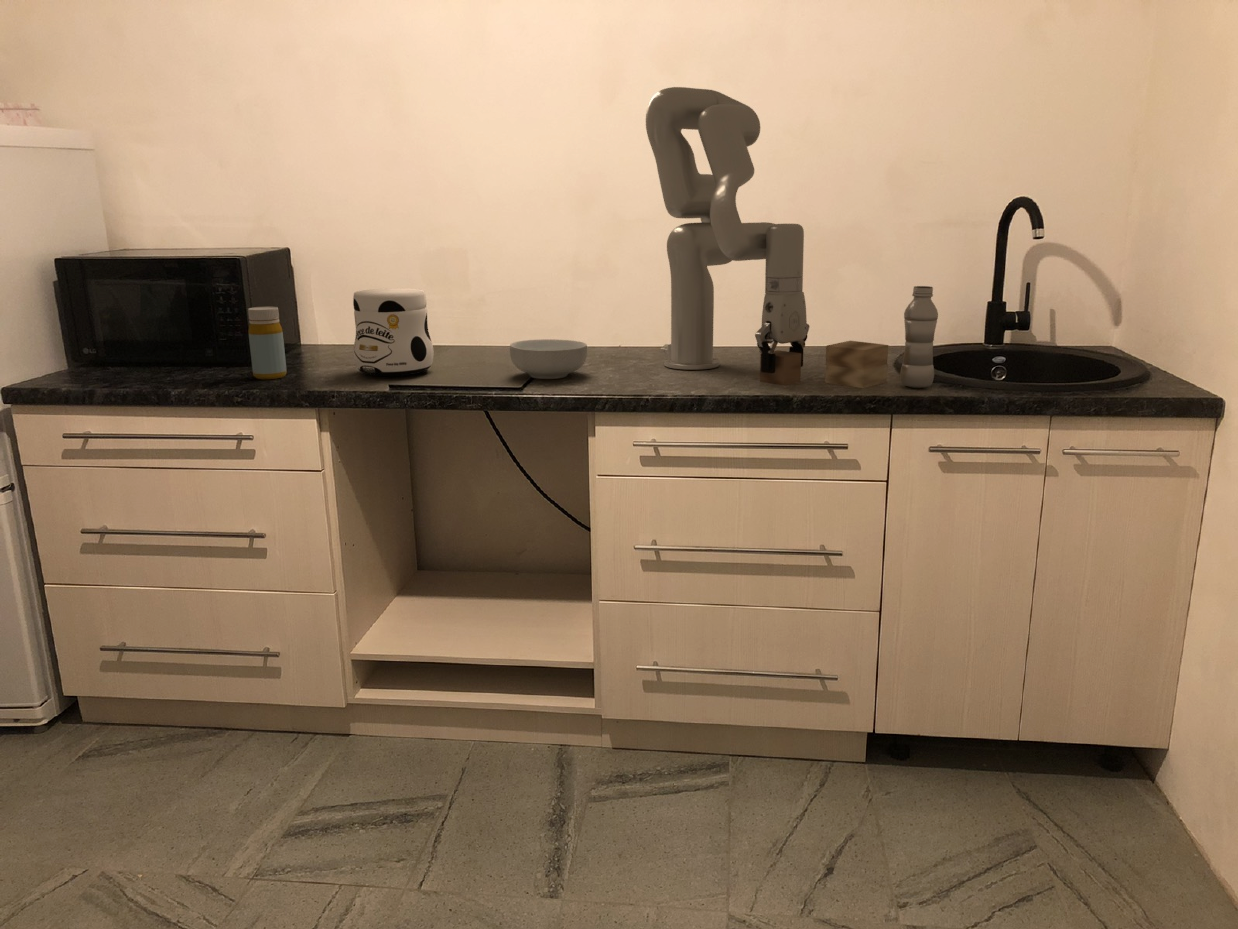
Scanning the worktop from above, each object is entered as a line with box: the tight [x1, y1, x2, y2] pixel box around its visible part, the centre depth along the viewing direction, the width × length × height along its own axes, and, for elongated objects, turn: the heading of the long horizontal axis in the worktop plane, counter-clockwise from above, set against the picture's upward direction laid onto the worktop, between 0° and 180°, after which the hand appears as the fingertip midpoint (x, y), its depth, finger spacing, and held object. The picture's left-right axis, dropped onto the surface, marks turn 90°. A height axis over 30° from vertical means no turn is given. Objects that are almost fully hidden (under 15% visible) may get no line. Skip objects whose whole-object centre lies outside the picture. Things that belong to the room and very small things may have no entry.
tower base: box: [824, 363, 889, 389], centre depth 205 cm, size 9×9×4 cm
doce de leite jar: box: [352, 287, 435, 377], centre depth 218 cm, size 17×17×18 cm
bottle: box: [247, 306, 287, 380], centre depth 215 cm, size 7×7×15 cm
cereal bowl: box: [509, 338, 588, 380], centre depth 214 cm, size 17×17×7 cm
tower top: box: [825, 340, 889, 370], centre depth 204 cm, size 9×9×4 cm
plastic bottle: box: [899, 285, 939, 389], centre depth 196 cm, size 6×7×20 cm
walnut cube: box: [759, 349, 802, 386], centre depth 206 cm, size 6×6×6 cm
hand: (782, 369), depth 205 cm, fingers open, 9 cm apart
